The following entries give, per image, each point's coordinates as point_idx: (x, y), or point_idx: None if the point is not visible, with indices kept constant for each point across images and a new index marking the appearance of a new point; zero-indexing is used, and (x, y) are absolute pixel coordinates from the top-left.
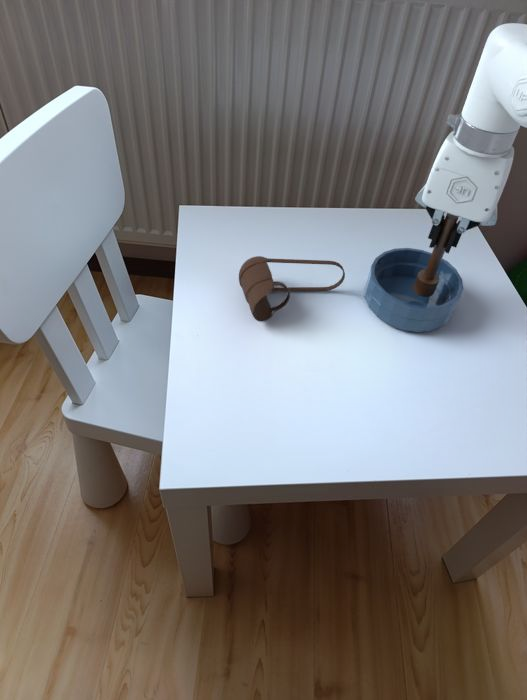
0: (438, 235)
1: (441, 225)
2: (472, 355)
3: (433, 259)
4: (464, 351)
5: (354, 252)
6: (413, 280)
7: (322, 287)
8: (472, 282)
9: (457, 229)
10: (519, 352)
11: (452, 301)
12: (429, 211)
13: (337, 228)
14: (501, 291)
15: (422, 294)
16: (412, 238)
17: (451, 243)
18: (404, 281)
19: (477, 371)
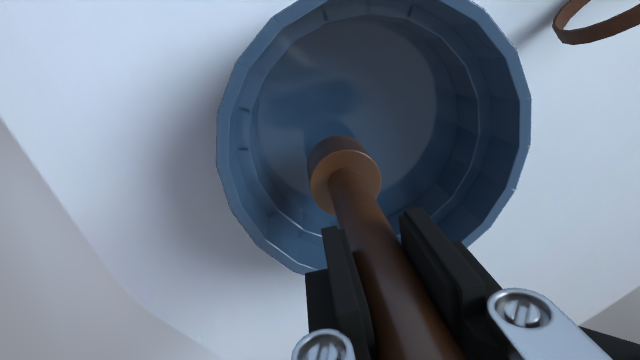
0: (425, 260)
1: (457, 320)
2: (118, 65)
3: (365, 202)
4: (142, 64)
5: (545, 203)
6: (379, 205)
7: (584, 3)
8: (262, 301)
9: (348, 342)
10: (40, 165)
11: (223, 125)
12: (638, 356)
13: (611, 249)
14: (196, 319)
15: (330, 138)
16: None
17: (333, 260)
18: (396, 187)
19: (70, 14)
